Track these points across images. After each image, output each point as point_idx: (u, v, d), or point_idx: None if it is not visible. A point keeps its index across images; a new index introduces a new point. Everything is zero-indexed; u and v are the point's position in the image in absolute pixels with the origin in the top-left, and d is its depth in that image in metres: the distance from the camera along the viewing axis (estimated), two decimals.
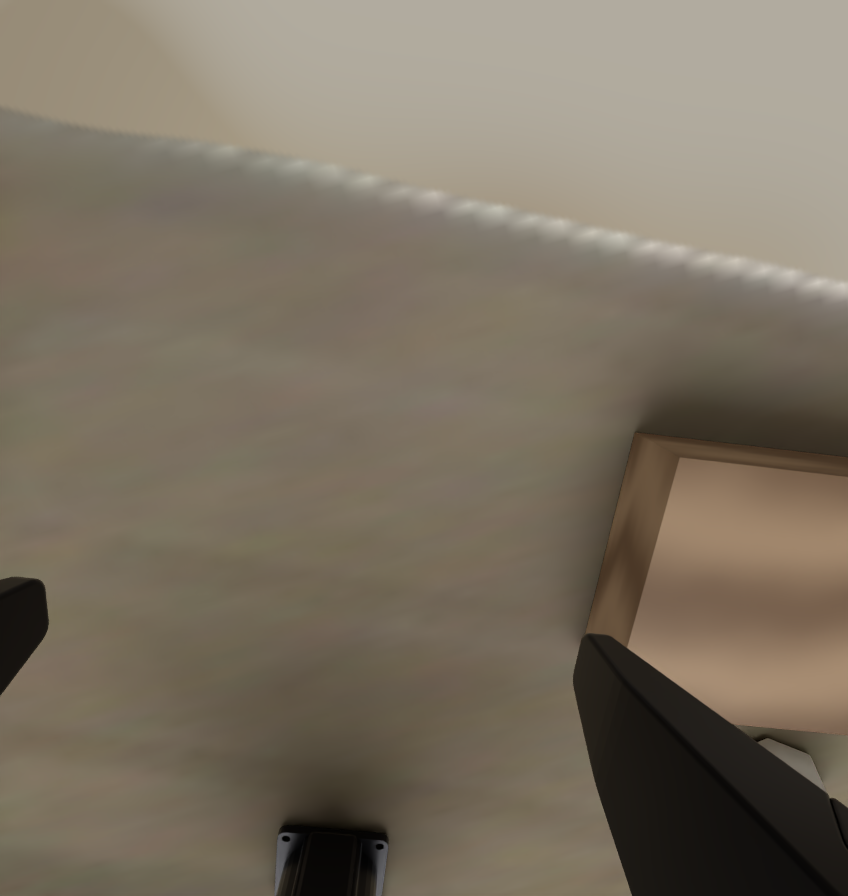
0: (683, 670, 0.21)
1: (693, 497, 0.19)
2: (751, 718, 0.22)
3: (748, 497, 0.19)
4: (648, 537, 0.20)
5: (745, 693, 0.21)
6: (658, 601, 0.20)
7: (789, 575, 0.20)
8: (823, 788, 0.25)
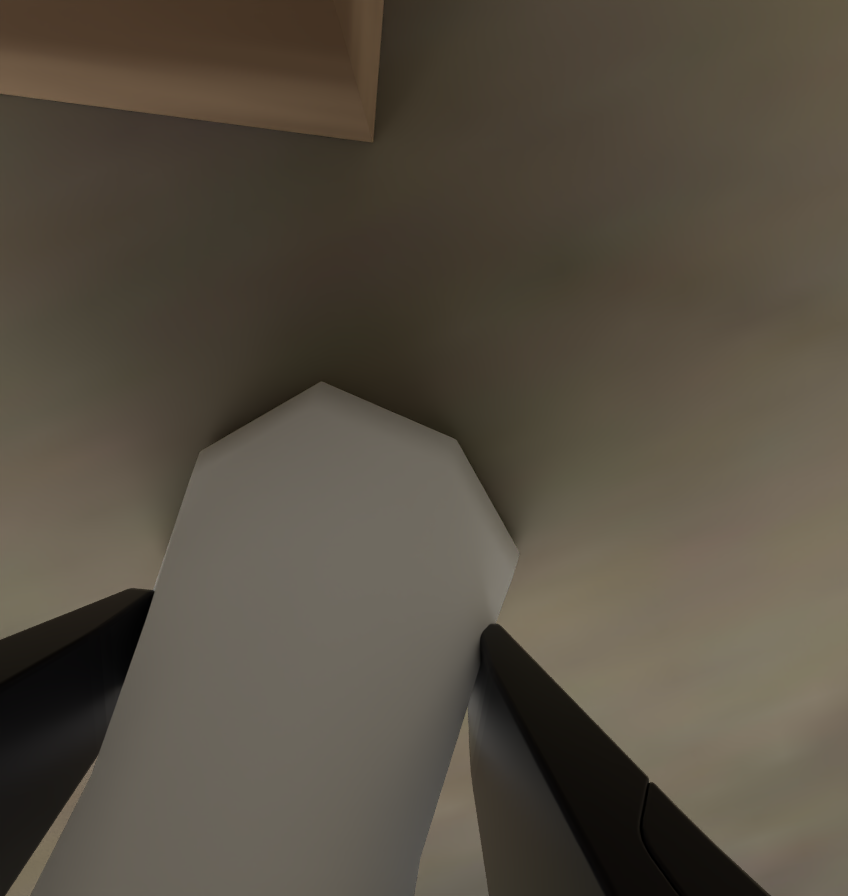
0: None
1: None
2: None
3: None
4: None
5: None
6: None
7: None
8: (433, 486, 0.08)
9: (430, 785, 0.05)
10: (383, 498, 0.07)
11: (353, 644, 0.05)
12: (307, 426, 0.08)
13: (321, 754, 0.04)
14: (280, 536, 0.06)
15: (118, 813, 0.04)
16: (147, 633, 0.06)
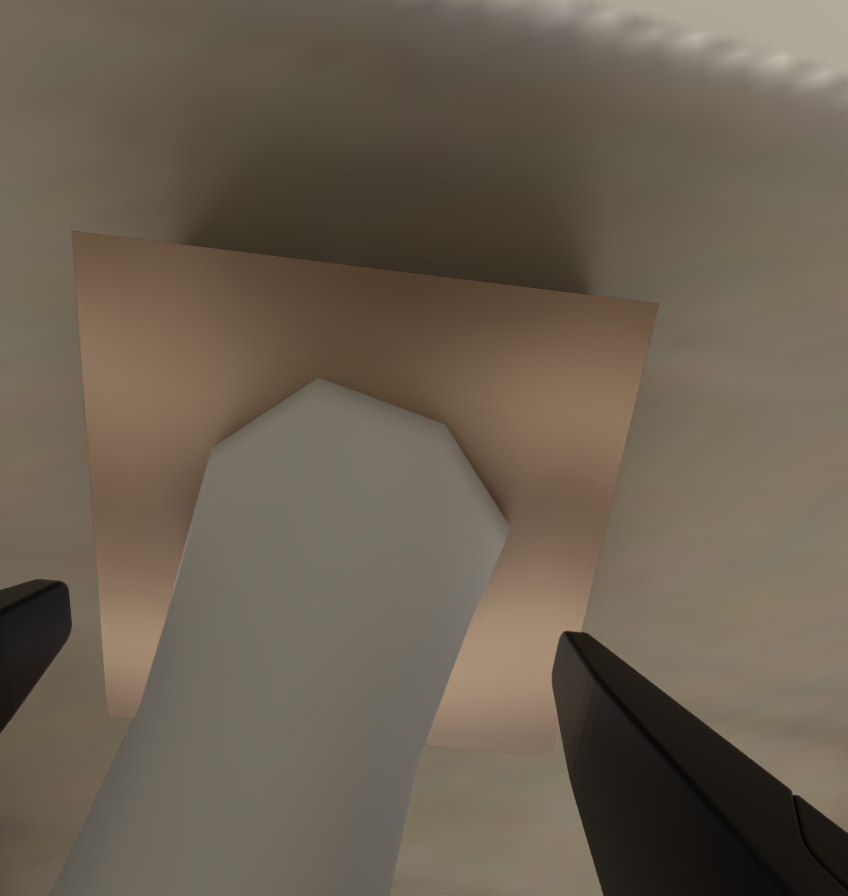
0: None
1: (123, 314, 0.10)
2: None
3: (227, 313, 0.10)
4: None
5: None
6: (125, 519, 0.11)
7: None
8: (423, 466, 0.09)
9: (424, 712, 0.06)
10: (377, 477, 0.08)
11: (353, 597, 0.06)
12: (307, 418, 0.09)
13: (327, 679, 0.05)
14: (287, 510, 0.07)
15: (166, 725, 0.05)
16: (177, 598, 0.07)
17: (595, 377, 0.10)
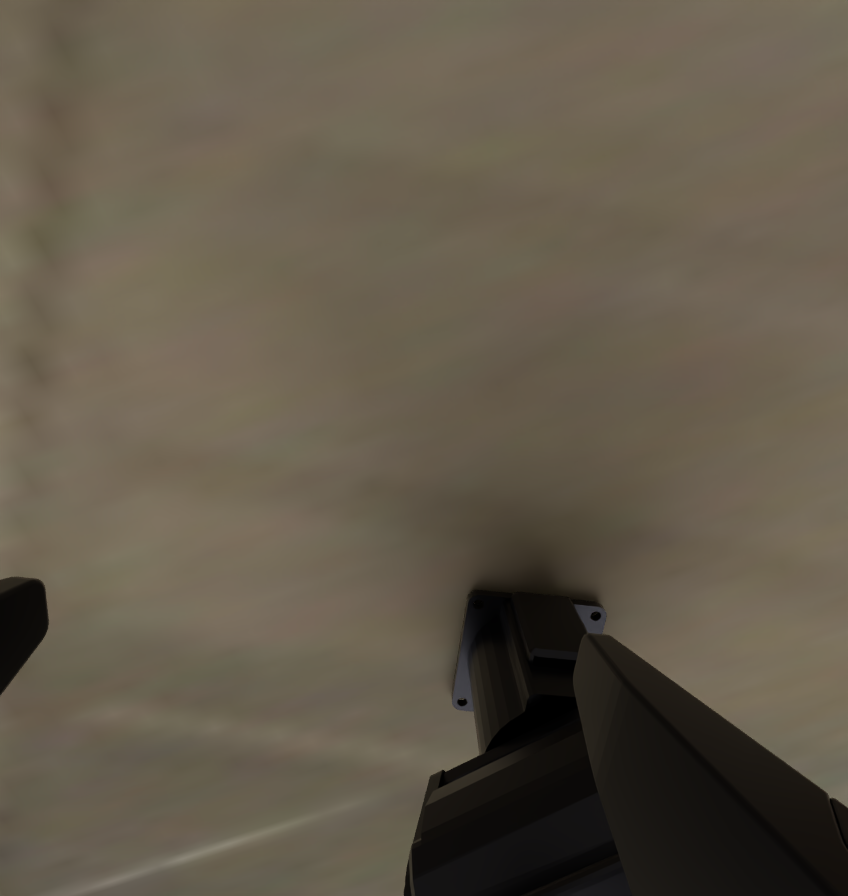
0: None
1: None
2: None
3: None
4: None
5: None
6: None
7: None
8: None
9: None
10: None
11: None
12: None
13: None
14: None
15: None
16: None
17: None
